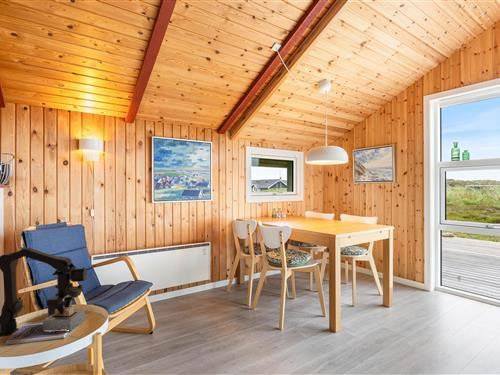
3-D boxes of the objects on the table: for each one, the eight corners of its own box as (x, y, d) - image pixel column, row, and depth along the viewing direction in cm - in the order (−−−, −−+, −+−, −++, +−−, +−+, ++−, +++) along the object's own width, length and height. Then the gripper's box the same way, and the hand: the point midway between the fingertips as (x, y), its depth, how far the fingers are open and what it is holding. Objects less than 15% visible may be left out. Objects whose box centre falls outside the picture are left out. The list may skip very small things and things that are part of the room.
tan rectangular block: (54, 315, 147) (54, 309, 147) (60, 312, 151) (59, 307, 151) (69, 316, 146) (68, 310, 146) (74, 313, 150) (73, 307, 150)
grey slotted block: (42, 332, 143) (42, 320, 143) (59, 321, 155) (59, 310, 155) (70, 331, 142) (70, 319, 142) (84, 320, 154) (84, 309, 154)
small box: (57, 319, 157) (56, 300, 157) (47, 318, 158) (46, 299, 158) (72, 311, 167) (72, 293, 167) (63, 310, 168) (62, 292, 169)
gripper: (67, 288, 139) (67, 320, 139) (89, 276, 158) (89, 305, 158) (44, 288, 139) (45, 320, 139) (69, 277, 158) (70, 305, 158)
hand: (64, 312), depth 148 cm, fingers closed on tan rectangular block, 4 cm apart
